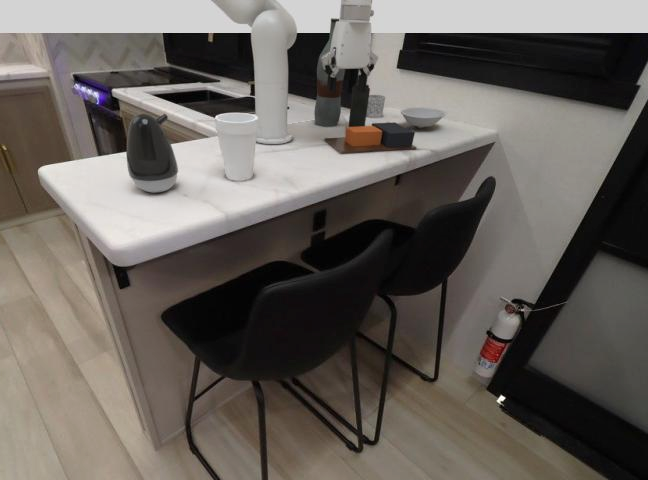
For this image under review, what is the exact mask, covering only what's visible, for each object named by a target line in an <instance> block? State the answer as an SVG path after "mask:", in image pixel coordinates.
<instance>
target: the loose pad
mask: <svg viewBox="0 0 648 480" xmlns="http://www.w3.org/2000/svg"><path fill="white" fill-rule="evenodd" d="M344 137H345V142H347V143H348V144H350V145H351V146H352V147H354V146H373V145H380V142H381V137H382V130H380V129H378V128H376V127H375V126H372V125H365V126H360V127H348V126H346V127H345V135H344Z"/></svg>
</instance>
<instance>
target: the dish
mask: <svg viewBox="0 0 648 480" xmlns="http://www.w3.org/2000/svg"><path fill="white" fill-rule="evenodd" d="M400 114H401V115H402V117H403V118H404V121H406V122H407V123H408V124H409V125H411V126H414V127H417V129H423V128H425V127H431V126H434V125H435V124H437V123H439V121H440V120H442V119H443V118H444V117H446V116H447V112H446V111H444V110H441V109H438V108H437V109H436V108H432V107H407V108H404V109H401V110H400Z"/></svg>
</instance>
